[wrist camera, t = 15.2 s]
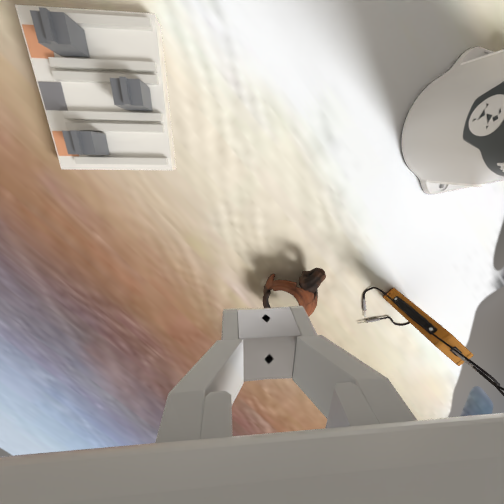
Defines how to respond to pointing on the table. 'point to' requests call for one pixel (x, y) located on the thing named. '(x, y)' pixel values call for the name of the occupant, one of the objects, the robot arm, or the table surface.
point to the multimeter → (430, 331)
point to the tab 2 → (85, 142)
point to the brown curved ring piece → (298, 289)
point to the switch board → (105, 88)
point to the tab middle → (131, 94)
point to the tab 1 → (59, 33)
